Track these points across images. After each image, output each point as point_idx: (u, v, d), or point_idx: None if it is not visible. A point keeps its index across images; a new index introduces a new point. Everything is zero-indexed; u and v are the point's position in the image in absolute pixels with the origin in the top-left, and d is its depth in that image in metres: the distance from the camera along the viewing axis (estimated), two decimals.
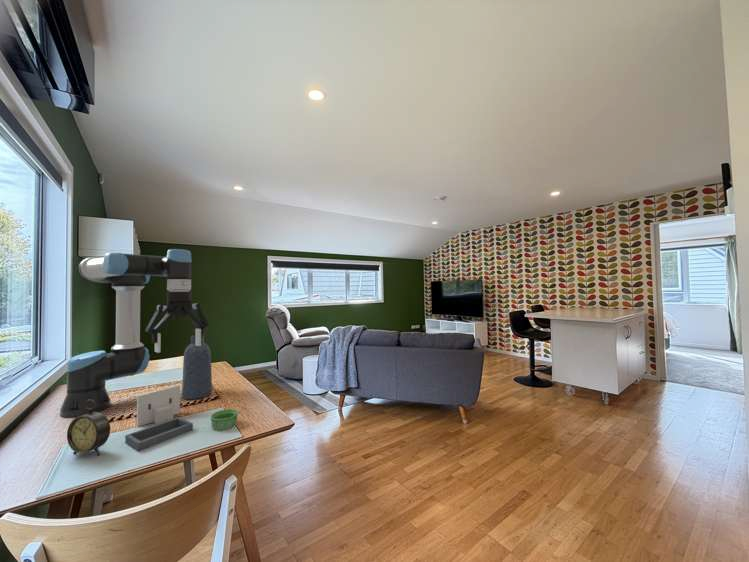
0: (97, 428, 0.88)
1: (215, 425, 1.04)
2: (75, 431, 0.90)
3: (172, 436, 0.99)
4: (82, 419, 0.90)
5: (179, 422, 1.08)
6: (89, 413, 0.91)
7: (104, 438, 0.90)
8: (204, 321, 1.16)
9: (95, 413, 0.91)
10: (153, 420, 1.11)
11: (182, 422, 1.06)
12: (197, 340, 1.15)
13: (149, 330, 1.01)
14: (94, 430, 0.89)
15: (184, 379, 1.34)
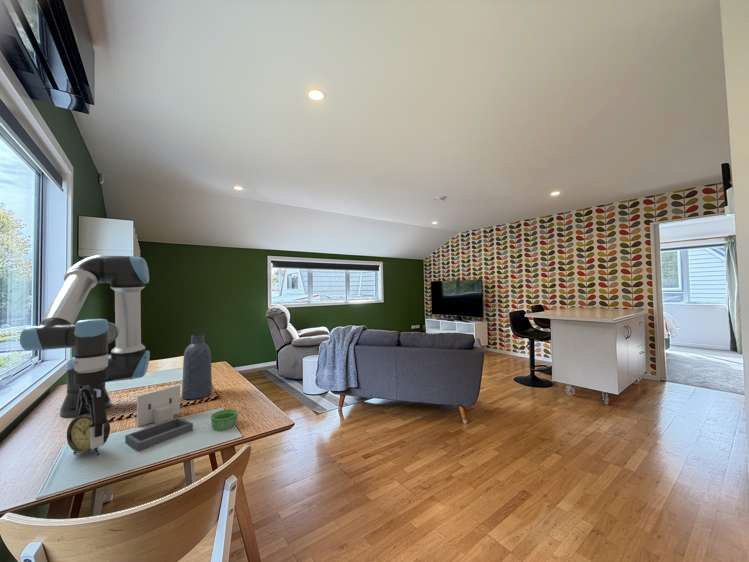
0: None
1: (215, 425, 1.04)
2: (75, 431, 0.90)
3: (172, 436, 0.99)
4: (82, 419, 0.90)
5: (179, 422, 1.08)
6: (89, 413, 0.91)
7: None
8: (94, 417, 0.86)
9: None
10: (153, 420, 1.11)
11: (182, 422, 1.06)
12: None
13: (76, 410, 0.95)
14: None
15: (184, 379, 1.34)
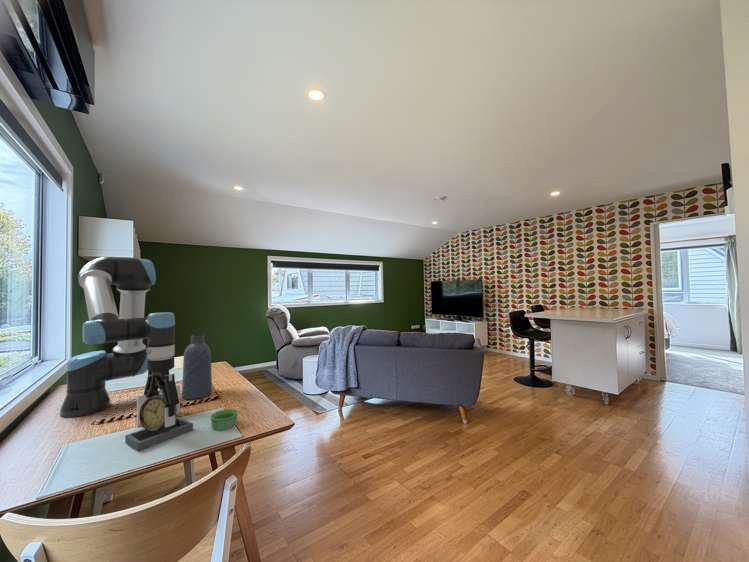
0: None
1: (215, 425, 1.04)
2: (146, 413, 1.00)
3: (172, 436, 0.99)
4: (151, 400, 1.00)
5: (179, 422, 1.08)
6: (157, 395, 1.01)
7: None
8: (168, 399, 0.95)
9: (162, 395, 1.02)
10: None
11: (182, 422, 1.06)
12: None
13: (144, 393, 1.05)
14: None
15: (184, 379, 1.34)
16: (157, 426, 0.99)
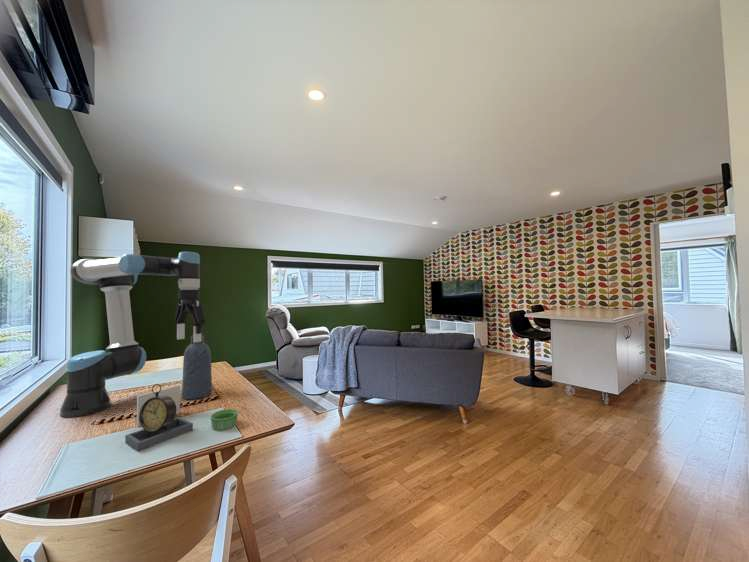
0: (166, 404, 1.00)
1: (215, 425, 1.04)
2: (146, 414, 1.00)
3: (172, 436, 0.99)
4: (151, 401, 1.01)
5: (179, 422, 1.08)
6: (156, 396, 1.02)
7: (172, 414, 1.00)
8: (197, 319, 1.17)
9: (161, 396, 1.03)
10: None
11: (182, 422, 1.06)
12: None
13: (174, 320, 1.27)
14: (163, 407, 1.00)
15: (184, 379, 1.34)
16: (157, 426, 0.99)
